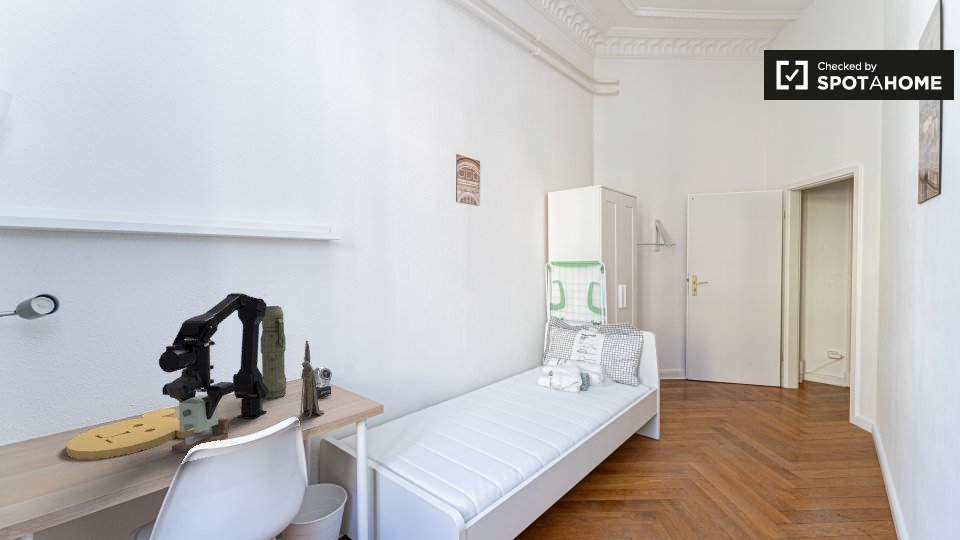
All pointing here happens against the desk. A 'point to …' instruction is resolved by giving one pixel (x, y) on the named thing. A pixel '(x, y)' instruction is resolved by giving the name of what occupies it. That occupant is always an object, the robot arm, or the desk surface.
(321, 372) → the watch
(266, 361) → the thermos
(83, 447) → the decorative plaque
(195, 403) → the cabinet block
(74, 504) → the desk surface
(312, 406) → the wizard figurine
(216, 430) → the cleat board
